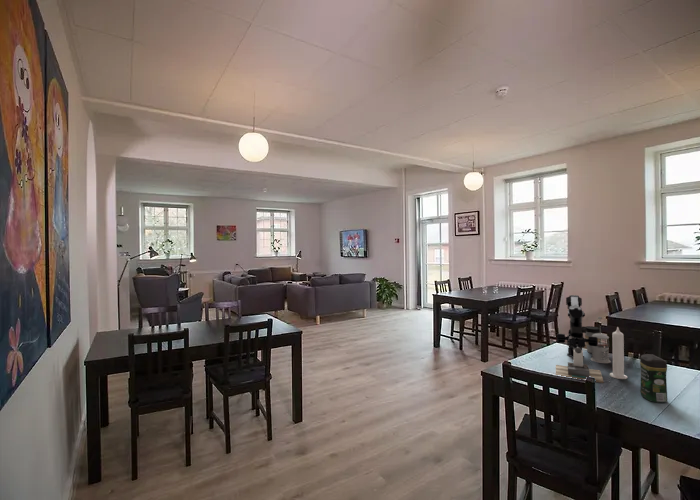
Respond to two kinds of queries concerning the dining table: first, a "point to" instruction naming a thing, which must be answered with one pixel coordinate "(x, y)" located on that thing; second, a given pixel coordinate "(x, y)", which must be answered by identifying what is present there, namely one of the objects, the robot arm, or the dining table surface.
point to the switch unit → (578, 372)
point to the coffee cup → (589, 332)
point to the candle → (618, 355)
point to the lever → (578, 357)
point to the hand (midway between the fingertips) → (577, 353)
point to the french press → (600, 349)
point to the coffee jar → (653, 378)
